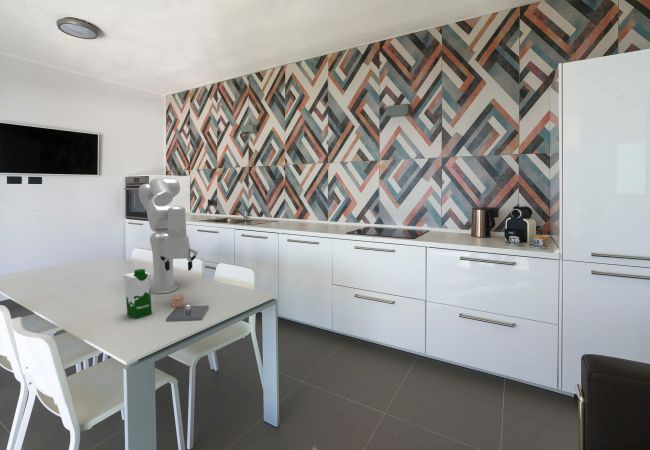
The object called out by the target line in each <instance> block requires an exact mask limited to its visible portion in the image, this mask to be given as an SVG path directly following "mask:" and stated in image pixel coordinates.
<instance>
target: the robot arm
mask: <svg viewBox="0 0 650 450" xmlns="http://www.w3.org/2000/svg"><path fill="white" fill-rule="evenodd" d="M180 191H181V185H180V181H178V180H177V179H176V178H170V177H165V178H163V177H158V178H157V177H156V178H153V179H151V180H150V181H149V183H143V184H141V185H140V186H139V188H138V196H139V200H140V203H141V204H142V206H143V207H144V209H145V211H146V215H147V220H148V224H149V228H150V229H151V231H152V232H153V233H152V234H151V235H150V237H149V243H150V247H151V252H152V265H153V268H152V269H153V282H150V290H151V294H158V295H159V294H168V293H172V292H175V291H177V290H178V286H177V285H175V278H174V274H175V273H174V259H175V260H176V259H177V260H181V259H183V260H184V259H186V260H187V261H188V262H187V271H191V270H192V269H193V261H194V260H195V259H196V258H197V255H198V253H199V251H197V250H195V249H193V248H191V245H190V239H189V236H188V235H187V220H186V219H187V217H186V208H185V207H184V206H181V205H178V204H177V205H172V204H171V205H170V203H171V202H173V199H175V197H176V196H177V195H178V194H179V193H180ZM191 253H192V254H193V255H192V257H191Z"/></svg>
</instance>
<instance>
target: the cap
mask: <svg viewBox="0 0 650 450" xmlns="http://www.w3.org/2000/svg"><path fill="white" fill-rule="evenodd" d="M170 301H171V303H170V304H171V307H172V308H176V307H177V306H185V296H184V294H174V295H171V300H170Z"/></svg>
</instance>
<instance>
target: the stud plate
mask: <svg viewBox="0 0 650 450" xmlns="http://www.w3.org/2000/svg"><path fill="white" fill-rule="evenodd" d="M209 308H210V306H209V305H208V304H207V305H191V304H190V303H188V304H185V305H183V306H177V307H174V309H173V310H172V311H171V312H170V313H169V314H168V316H167V317H166V318H165V321H166V322H180V321H181V322H184V321H190V322H191V321H202V320H203V318H204V316H205V314H206V313H207V312H208V310H209Z"/></svg>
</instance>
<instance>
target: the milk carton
mask: <svg viewBox="0 0 650 450" xmlns="http://www.w3.org/2000/svg"><path fill="white" fill-rule="evenodd" d="M123 278H124V283H125V298H126V315H127V316H128V315H129V317H131V318H133V319H135V320H136V319H140V318H143V317H145V316H149V315H151V314H153V313H152V312H153V311H152V310H153V309H152V295H151V294H152V292H151V287H150V283H151V273H149V272H147V271H146V269H144V268H137V269H135V270H134V272H130V273H125V274H123Z"/></svg>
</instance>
